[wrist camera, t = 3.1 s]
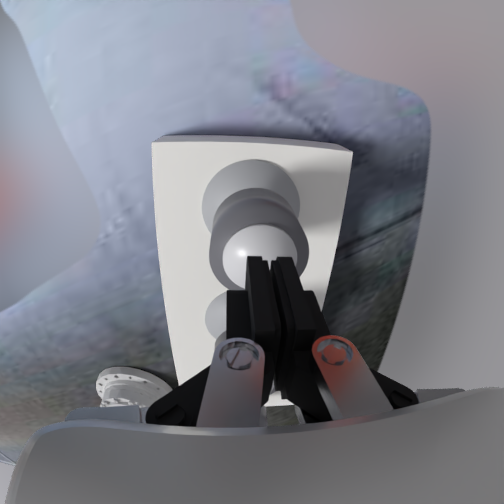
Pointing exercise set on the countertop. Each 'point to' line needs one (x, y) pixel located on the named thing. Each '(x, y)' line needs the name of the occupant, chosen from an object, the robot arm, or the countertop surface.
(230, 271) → the knob near
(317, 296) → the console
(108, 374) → the mechanical component
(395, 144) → the countertop surface
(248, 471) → the robot arm
